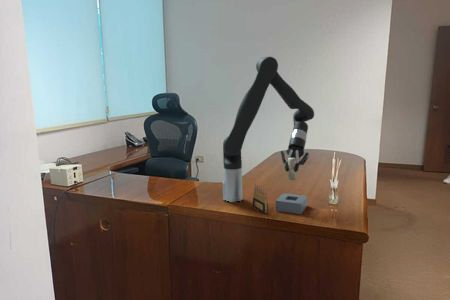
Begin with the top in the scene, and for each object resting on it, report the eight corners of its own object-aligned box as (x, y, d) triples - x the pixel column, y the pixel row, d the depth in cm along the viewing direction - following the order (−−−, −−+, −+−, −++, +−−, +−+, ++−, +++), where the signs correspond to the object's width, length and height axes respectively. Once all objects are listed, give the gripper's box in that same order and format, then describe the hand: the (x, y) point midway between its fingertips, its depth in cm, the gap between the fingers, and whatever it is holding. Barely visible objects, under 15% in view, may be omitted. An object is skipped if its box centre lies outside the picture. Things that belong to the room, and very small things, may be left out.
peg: (287, 179, 160) (287, 159, 158) (289, 177, 163) (289, 157, 161) (294, 180, 159) (294, 159, 157) (296, 178, 162) (296, 157, 160)
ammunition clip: (268, 213, 158) (267, 188, 156) (264, 214, 157) (264, 189, 155) (256, 206, 167) (255, 182, 165) (252, 207, 167) (252, 183, 164)
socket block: (275, 210, 161) (275, 200, 160) (283, 202, 172) (283, 193, 171) (301, 214, 156) (301, 203, 155) (307, 205, 166) (307, 195, 165)
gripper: (282, 135, 167) (274, 165, 159) (311, 136, 161) (305, 168, 152) (285, 144, 173) (277, 173, 164) (313, 146, 167) (307, 176, 158)
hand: (291, 170), depth 158 cm, fingers closed on peg, 3 cm apart
